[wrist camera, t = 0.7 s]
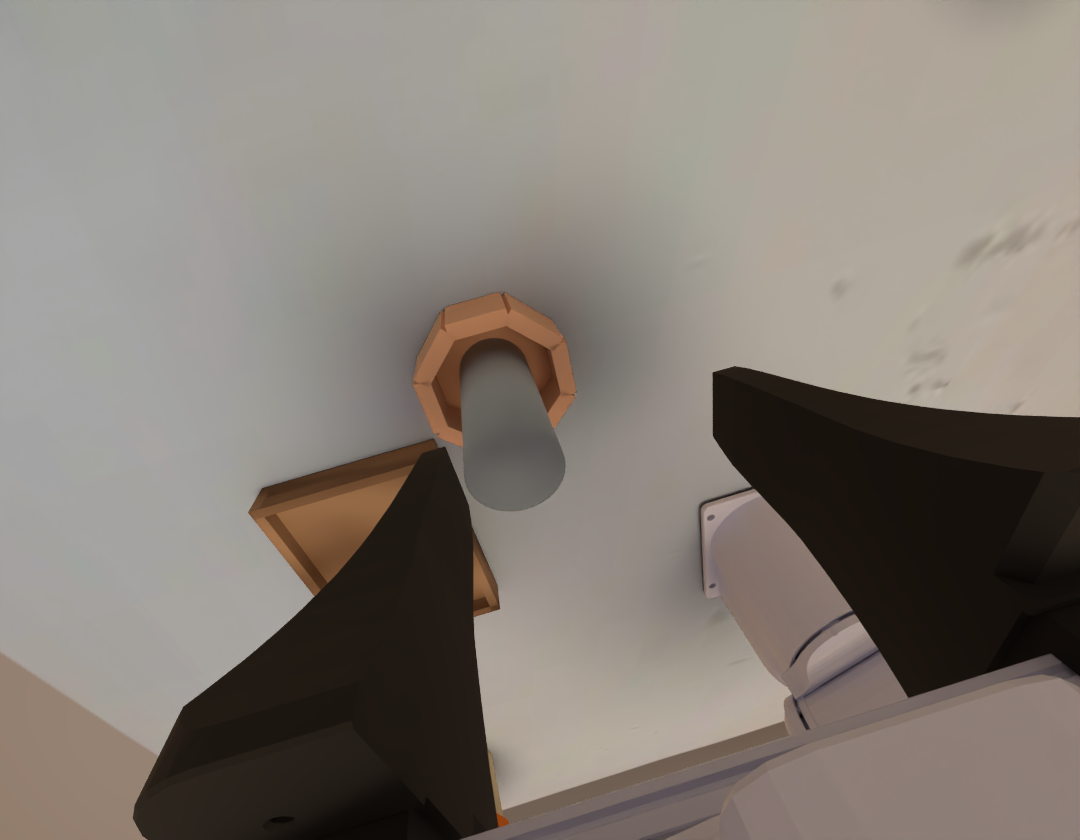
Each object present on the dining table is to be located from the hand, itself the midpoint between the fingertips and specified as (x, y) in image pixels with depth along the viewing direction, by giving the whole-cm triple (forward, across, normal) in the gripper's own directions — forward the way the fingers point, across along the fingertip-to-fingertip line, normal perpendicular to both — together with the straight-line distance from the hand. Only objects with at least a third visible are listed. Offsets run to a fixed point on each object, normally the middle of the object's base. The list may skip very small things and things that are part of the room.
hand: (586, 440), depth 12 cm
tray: (+10, +10, +11) cm, 18 cm away
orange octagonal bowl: (+10, +2, +2) cm, 11 cm away
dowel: (+10, +2, +2) cm, 10 cm away
